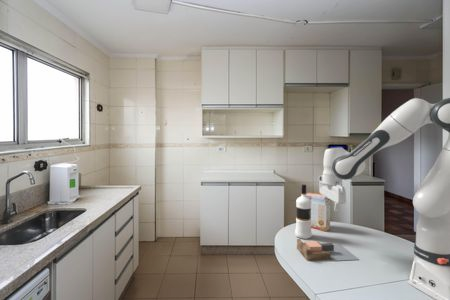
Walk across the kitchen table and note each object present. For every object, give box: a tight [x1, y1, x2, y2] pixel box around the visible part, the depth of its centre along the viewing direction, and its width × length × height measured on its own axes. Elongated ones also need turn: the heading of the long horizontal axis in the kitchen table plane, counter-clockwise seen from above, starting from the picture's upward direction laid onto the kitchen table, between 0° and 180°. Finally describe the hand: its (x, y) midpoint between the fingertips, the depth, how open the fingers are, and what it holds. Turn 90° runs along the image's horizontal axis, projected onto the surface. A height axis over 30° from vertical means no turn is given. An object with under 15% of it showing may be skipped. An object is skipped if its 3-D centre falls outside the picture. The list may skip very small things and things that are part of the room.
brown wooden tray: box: [296, 238, 331, 261], centre depth 124 cm, size 12×12×5 cm
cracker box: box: [306, 192, 331, 232], centre depth 158 cm, size 14×6×21 cm, turn 44°
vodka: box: [294, 184, 313, 240], centre depth 144 cm, size 9×9×30 cm
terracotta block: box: [304, 240, 335, 252], centre depth 124 cm, size 6×13×5 cm, turn 96°
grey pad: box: [324, 244, 360, 262], centre depth 125 cm, size 16×12×1 cm
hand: (331, 207), depth 124 cm, fingers open, 8 cm apart
